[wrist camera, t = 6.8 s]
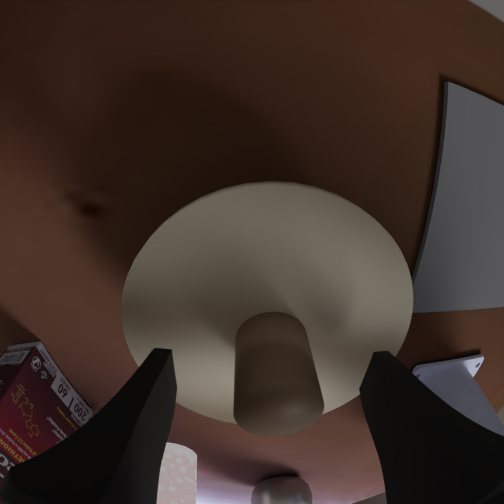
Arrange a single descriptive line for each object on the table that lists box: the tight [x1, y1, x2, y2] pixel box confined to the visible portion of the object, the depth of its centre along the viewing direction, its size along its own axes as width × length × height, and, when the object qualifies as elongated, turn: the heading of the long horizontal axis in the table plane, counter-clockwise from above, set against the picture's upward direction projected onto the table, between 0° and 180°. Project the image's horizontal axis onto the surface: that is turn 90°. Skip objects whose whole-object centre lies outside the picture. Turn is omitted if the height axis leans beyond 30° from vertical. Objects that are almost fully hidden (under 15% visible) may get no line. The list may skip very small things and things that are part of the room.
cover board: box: [121, 181, 413, 436], centre depth 11 cm, size 12×12×4 cm
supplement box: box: [0, 341, 93, 504], centre depth 13 cm, size 9×5×16 cm, turn 15°
